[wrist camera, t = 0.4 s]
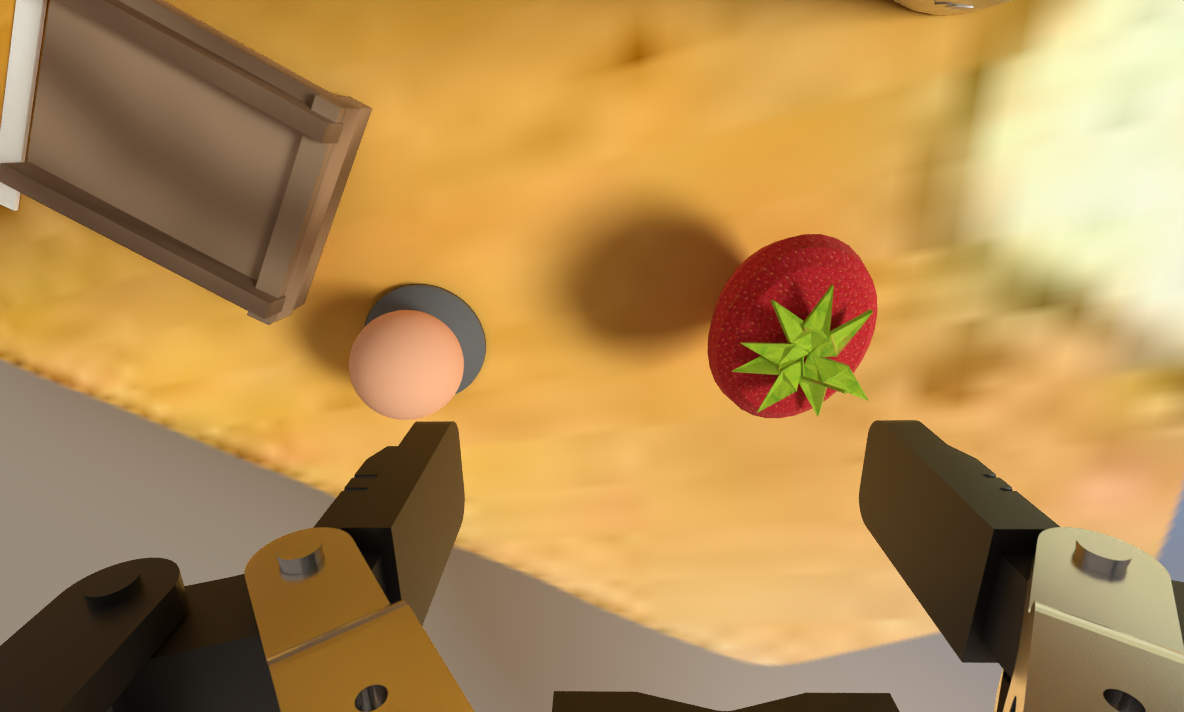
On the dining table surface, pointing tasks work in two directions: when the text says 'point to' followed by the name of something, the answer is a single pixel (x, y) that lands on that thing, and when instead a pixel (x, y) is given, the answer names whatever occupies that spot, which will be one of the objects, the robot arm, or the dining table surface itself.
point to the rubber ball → (406, 364)
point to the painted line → (20, 88)
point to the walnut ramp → (188, 149)
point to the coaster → (448, 312)
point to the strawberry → (792, 326)
